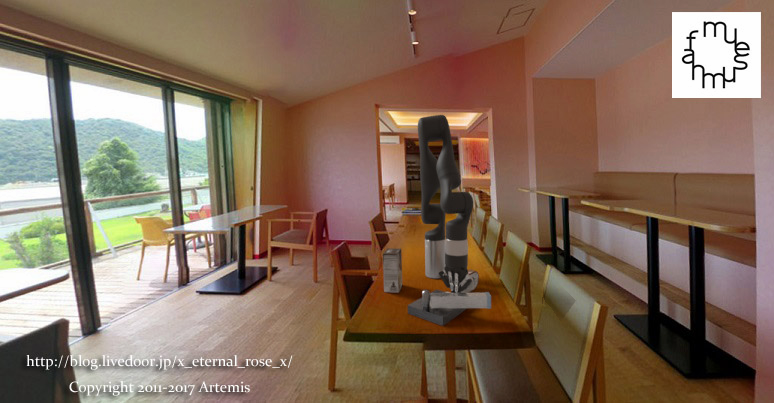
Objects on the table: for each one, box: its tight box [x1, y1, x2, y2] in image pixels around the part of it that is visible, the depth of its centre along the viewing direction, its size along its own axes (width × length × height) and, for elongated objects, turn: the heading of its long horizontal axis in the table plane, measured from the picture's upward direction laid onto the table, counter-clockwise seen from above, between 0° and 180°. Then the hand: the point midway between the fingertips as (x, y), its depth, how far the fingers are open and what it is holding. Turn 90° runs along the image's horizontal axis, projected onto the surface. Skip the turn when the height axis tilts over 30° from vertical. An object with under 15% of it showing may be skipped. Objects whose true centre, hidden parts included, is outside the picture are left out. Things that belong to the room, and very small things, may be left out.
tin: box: [461, 269, 480, 293], centre depth 128 cm, size 15×3×8 cm, turn 133°
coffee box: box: [382, 247, 403, 294], centre depth 134 cm, size 9×6×16 cm
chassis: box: [407, 289, 468, 327], centre depth 112 cm, size 18×14×9 cm
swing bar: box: [430, 291, 492, 310], centre depth 106 cm, size 19×3×4 cm, turn 87°
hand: (455, 300), depth 110 cm, fingers closed
